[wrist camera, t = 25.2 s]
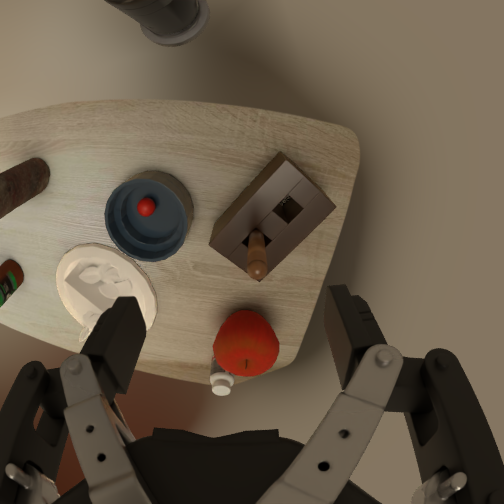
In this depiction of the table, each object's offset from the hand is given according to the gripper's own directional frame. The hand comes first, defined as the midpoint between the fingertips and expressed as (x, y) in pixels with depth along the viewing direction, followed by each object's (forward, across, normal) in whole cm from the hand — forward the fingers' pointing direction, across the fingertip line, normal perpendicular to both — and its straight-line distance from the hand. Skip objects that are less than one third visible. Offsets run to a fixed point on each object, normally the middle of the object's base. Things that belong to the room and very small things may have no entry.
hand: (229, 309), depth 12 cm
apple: (+38, +2, +33) cm, 51 cm away
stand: (+38, -4, +9) cm, 39 cm away
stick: (+27, -1, +10) cm, 29 cm away
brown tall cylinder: (+38, +41, -3) cm, 56 cm away
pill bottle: (+38, +8, +45) cm, 60 cm away
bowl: (+38, +16, +8) cm, 42 cm away
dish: (+38, +32, +26) cm, 56 cm away
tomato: (+36, +17, +6) cm, 40 cm away
